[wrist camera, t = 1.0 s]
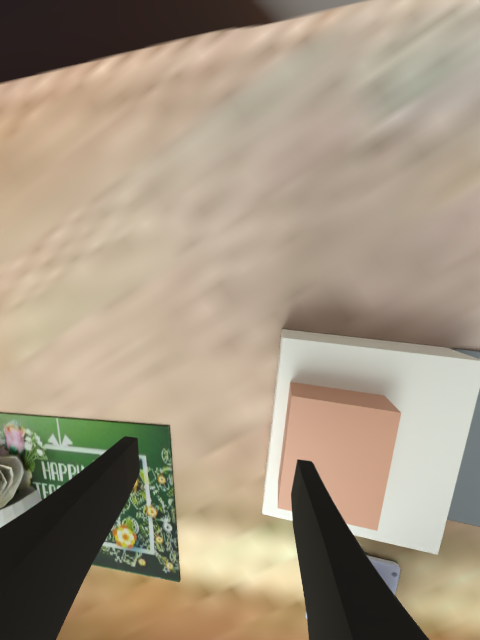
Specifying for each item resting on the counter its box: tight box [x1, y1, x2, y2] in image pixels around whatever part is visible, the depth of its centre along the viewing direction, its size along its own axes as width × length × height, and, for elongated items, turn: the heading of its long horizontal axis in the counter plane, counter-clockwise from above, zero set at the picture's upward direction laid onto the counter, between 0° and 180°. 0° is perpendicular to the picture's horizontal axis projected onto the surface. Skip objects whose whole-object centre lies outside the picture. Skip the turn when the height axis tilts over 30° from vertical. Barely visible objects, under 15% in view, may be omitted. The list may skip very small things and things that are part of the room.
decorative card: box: [0, 413, 180, 582], centre depth 26 cm, size 33×8×20 cm
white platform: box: [262, 329, 480, 555], centre depth 20 cm, size 16×14×4 cm
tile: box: [278, 382, 401, 531], centre depth 18 cm, size 9×7×2 cm
